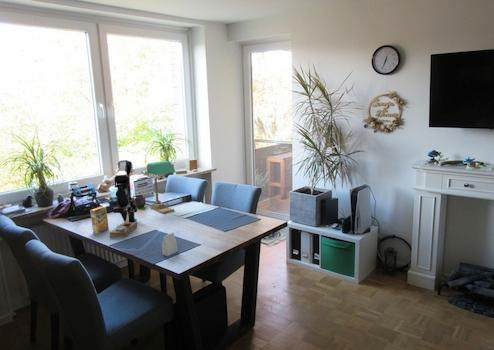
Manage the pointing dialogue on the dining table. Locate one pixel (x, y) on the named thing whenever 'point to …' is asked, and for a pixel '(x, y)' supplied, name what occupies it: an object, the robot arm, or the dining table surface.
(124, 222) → the cream dowel
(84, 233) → the dining table surface
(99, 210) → the candy box
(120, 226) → the grey metal stub
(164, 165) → the banker's lamp
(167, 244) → the tea bag
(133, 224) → the walnut socket block
